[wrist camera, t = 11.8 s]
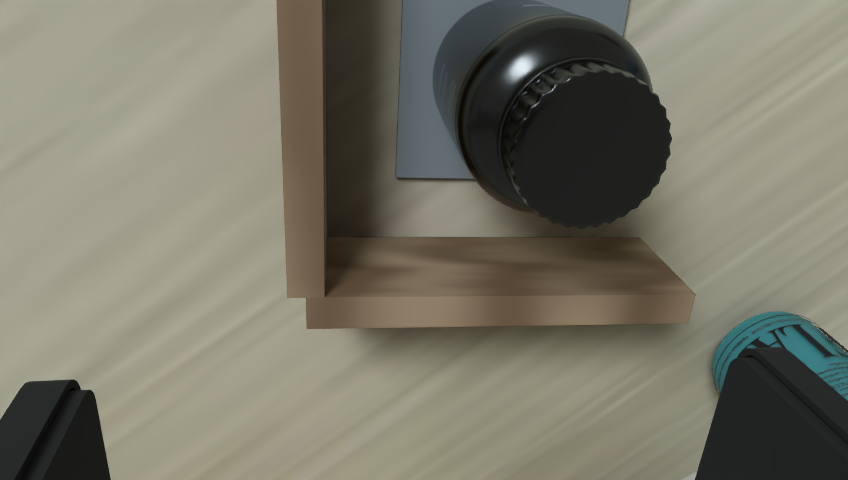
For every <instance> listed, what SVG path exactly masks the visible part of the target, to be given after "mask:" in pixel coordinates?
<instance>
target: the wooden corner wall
mask: <svg viewBox="0 0 848 480" xmlns="http://www.w3.org/2000/svg"><path fill="white" fill-rule="evenodd" d="M277 25H278V53H279V80H280V108H281V136H282V164H283V192H284V219H285V247H286V275H287V298H306V321H307V329H334V328H403V327H472V326H541V325H610V324H679V323H688V322H689V318H690V314H691V311H692V307H693V303H694V299H695V296H696V294H695V293H694V292H693V291H692V290H691V289H690V288H689V287H688V286H687V285H686V284H685V283H684V282H683V281H682V280H681V279H680V278H679V277H678V276H677V275H676V274H675V273H674V272H673V271H672V270H671V269H670V268H669V267H668V266H667V265H666V264H665V263H664V262H663V261H662V260H661V259H660V258H659V257H658V256H657V255H656V254H655V253H654V252H653V251H652V250H651V249H650V248H649V247H648V246H647V245H646V244H645V243H644V242H643V241H642V240H641V239H640V238H531V237H327V109H326V0H277Z"/></svg>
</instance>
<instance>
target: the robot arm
mask: <svg viewBox="0 0 848 480" xmlns="http://www.w3.org/2000/svg"><path fill="white" fill-rule="evenodd" d="M0 480H111V479H110V474H109V468H108V463H107V458H106V452H105V447H104V442H103V436H102V431H101V425H100V420H99V415H98V409H97V404H96V399H95V395H94V393H93V391H91V390H81V389H80V385H79V384H78V382H77V381H75V380H54V381H32V382H27V383H25V384H24V385H23V386H22V388H21V389H20V390H19V392H18V393H17V395H16V396H15V398H14V400H13V401H12V403H11V404H10V406H9V407H8V409H7V410H6V412H5V413H4V415H3V416H2V418H1V420H0ZM695 480H848V401H847V400H846V399H845V398H844V397H843V396H842V395H840V394H839V393H838V392H837V391H836V390H835V389H833V388H832V387H831V386H830V385H829V384H828V383H826V382H825V381H824V380H823V379H822V378H821V377H819V376H818V375H817V374H816V373H815V372H814V371H812V370H811V369H810V368H809V367H808V366H806V365H805V364H804V363H803V362H802V361H801V360H799V359H798V358H797V357H796V356H795V355H794V354H792V353H791V352H790V351H789V350H787V349H785V348H782V347H764V348H747V349H744V350H742V351H741V352H740V353H739V354H738V357H737V358H736V359H733V360H732V361H731V362H730V364H729V366H728V369H727V373H726V376H725V380H724V383H723V386H722V390H721V393H720V397H719V400H718V403H717V407H716V410H715V413H714V417H713V420H712V424H711V427H710V430H709V434H708V437H707V441H706V444H705V447H704V451H703V454H702V457H701V461H700V464H699V468H698V471H697V475H696V478H695Z"/></svg>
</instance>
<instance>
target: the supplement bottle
mask: <svg viewBox="0 0 848 480" xmlns="http://www.w3.org/2000/svg"><path fill="white" fill-rule="evenodd" d="M432 80H433V93H434V98H435V102H436V105H437V108H438V110H439V113H440V115H441V118H442V120H443V122H444V124H445V126H446V128H447V130H448V132H449V134H450V136H451V138H452V140H453V142H454V144H455V146H456V148H457V150H458V152H459V154H460V156H461V158H462V160H463V162H464V163H465V165H466V167H467V169H468V171H469V172H470V173H471V175H472V176H473V178H474V179H475V181H476V182H477V183H478V184H479V185H480V186H481V188H482V189H484V190H485V191H486V192H487V193H488V194H489V195H490V196H492V197H493V198H494V199H496V200H498V201H499V202H501V203H503V204H505V205H507V206H509V207H511V208H514V209H517V210H519V211H523V212H528V213H534V214H538V215H539V216H540V217H544V218H547V219H548V220H549V221H550V222H552V223H561V224H562V225H563V226H565V227H572V226H575V227H577V228H580V229H582V228H585V227H587V226H591V227H597V226H599V225H601V224H603V223H611V222H613V221H614V220H615V219H616V218H619V217H623V216H625V215H626V214H627V213H628V212H629V211H630V210H632V209H635V208H637V207H638V206H639V205H640V203H641V202H642V200H644V199H645V198H647V197H649V196H650V194H651V191H652V189H653V188H654V187H655V186H656V185H657V184H658V183H659V181H660V176H661V175H662V173H663V172H664V171H665V170H666V161H667V159H668V158H669V156H670V148H669V146H670V143H671V140H672V137H671V134H670V132H669V130H670V124H671V123H670V122H669V120H668V119H667V118H666V108H665V107H664V106H663V105H661V104H660V100H659V97H658V95H657V94H656V93H654V92H653V88H652V83H651V80H650V76H649V73H648V71H647V68H646V66H645V64H644V62H643V60H642V59H641V57H640V56H639V54H638V53H637V51H636V50H635V49H634V47H633V46H632V45H631V44H630V43H629V42H628V41H627V40H626V39H625V38H624V37H623V36H621V35H620V34H619V33H617V32H616V31H614V30H613V29H611V28H609V27H608V26H606V25H604V24H602V23H600V22H597V21H595V20H593V19H590V18H587V17H584V16H581V15H578V14H574V13H571V12H568V11H565V10H562V9H559V8H556V7H553V6H550V5H547V4H544V3H541V2H538V1H534V0H492V1H489V2H486V3H483V4H481V5H479V6H477V7H475V8H474V9H472V10H470V11H469V12H467V13H466V14H465V15H463V16H462V17H461V18H460V19H459V20H458V21H457V22H456V23H455V24H454V25H453V26H452V27H451V29H450V30H449V31H448V33H447V34H446V36H445V37H444V39H443V41H442V43H441V45H440V47H439V49H438V52H437V55H436V58H435V62H434V67H433V76H432Z"/></svg>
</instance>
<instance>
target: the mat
mask: <svg viewBox="0 0 848 480" xmlns="http://www.w3.org/2000/svg"><path fill="white" fill-rule="evenodd" d="M489 1H492V0H402V24H401V49H400V74H399V99H398V124H397V149H396V174H395V176H396V177H398V178H464V179H474V178H473V176H472V175H471V173H470V172H469V171H468V169H467V167H466V165H465V163H464V162H463V160H462V158H461V156H460V154H459V152H458V150H457V148H456V146H455V144H454V142H453V140H452V138H451V136H450V134H449V132H448V130H447V128H446V126H445V124H444V122H443V120H442V118H441V115H440V113H439V110H438V108H437V105H436V102H435V98H434V93H433V80H432V76H433V67H434V62H435V58H436V55H437V52H438V49H439V47H440V45H441V43H442V41H443V39H444V37H445V36H446V34H447V33H448V31H449V30H450V29H451V27H452V26H453V25H454V24H455V23H456V22H457V21H458V20H459V19H460V18H461V17H462V16H463V15H465V14H466V13H467V12H469V11H470V10H472V9H474V8H475V7H477V6H479V5H481V4H483V3H486V2H489ZM534 1H538V2H541V3H544V4H547V5H550V6H553V7H556V8H559V9H562V10H565V11H568V12H571V13H574V14H578V15H581V16H584V17H587V18H590V19H593V20H595V21H597V22H600V23H602V24H604V25H606V26H608V27H609V28H611V29H613V30H614V31H616V32H617V33H619V34H620V35H621V36H623V33H624V28H625V22H626V16H627V11H628V5H629V0H534Z"/></svg>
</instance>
